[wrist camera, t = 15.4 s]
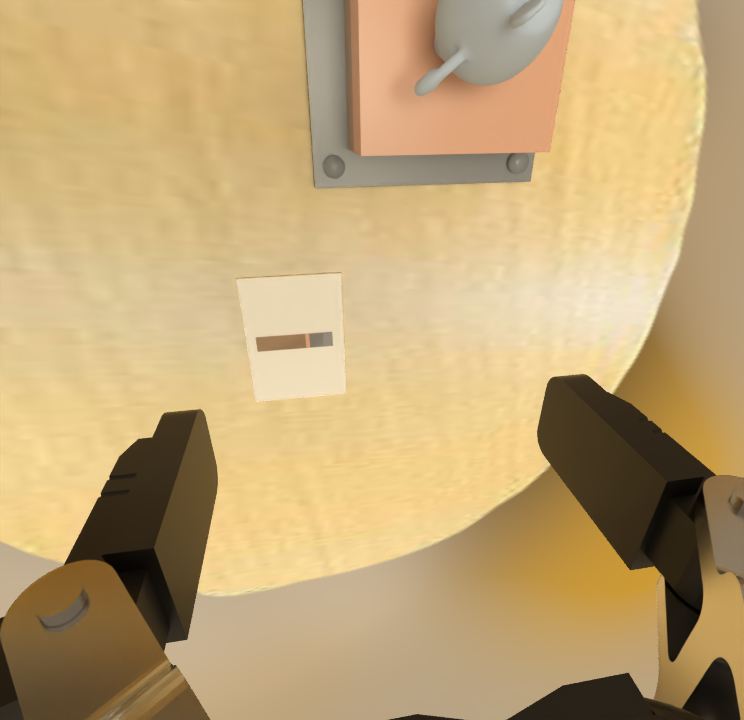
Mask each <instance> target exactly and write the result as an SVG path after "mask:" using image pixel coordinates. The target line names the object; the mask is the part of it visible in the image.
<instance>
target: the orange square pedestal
mask: <svg viewBox="0 0 744 720" xmlns="http://www.w3.org/2000/svg"><path fill="white" fill-rule="evenodd" d="M438 1H439V0H302V2H303V17H304V32H305V48H306V63H307V78H308V93H309V108H310V123H311V138H312V153H313V168H314V184H315V188H332V187H365V186H398V185H431V184H464V183H497V182H530V181H531V174H532V167H533V161H534V154H535V152H550V148H551V142H552V136H553V130H554V124H555V118H556V112H557V106H558V100H559V94H560V88H561V82H562V76H563V70H564V64H565V58H566V52H567V46H568V40H569V34H570V28H571V22H572V16H573V10H574V4H575V0H564V1H563V7H562V11H561V14H560V17H559V20H558V23H557V25H556V28H555V30H554V32H553V34H552V36H551V38H550V39H549V41H548V43H547V44H546V46H545V47H544V48H543V50H542V51H541V52H540V54H539V55H538V56H537V57H536V58H535V60H534V61H533V62H532V63H531V64H530V65H529V66H528V67H526V68H525V69H524V70H523V71H522V72H520V73H519V74H517V75H516V76H514V77H513V78H511V79H509V80H507V81H504V82H502V83H499V84H495V85H487V86H482V85H475V84H471V83H468V82H466V81H464V80H462V79H460V78H459V77H457V76H456V75H455V74H454V73H453V72H451V73H450V74H449V75H448V76H446V77H445V78H444V79H443V80H442V81H441V82H440V84H439V85H438V87H437V88H436V89H434V90H433V91H431V92H430V93H428V94H426V95H424V96H417V95H416V94H415V91H414V88H415V85H416V83H417V82H418V81H419V80H420V79H421V78H422V77H423V76H424V75H425V74H426V73H427V72H428V71H429V70H431V69H438V68H439V67H440V66H442V65H443V64H444V63H445V62H444V60H443V59H441V58H440V57H439V56H438V55H437V53H436V51H435V47H434V39H435V35H436V33H435V18H436V10H437V5H438Z"/></svg>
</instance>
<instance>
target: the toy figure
mask: <svg viewBox="0 0 744 720" xmlns="http://www.w3.org/2000/svg"><path fill="white" fill-rule="evenodd" d="M563 1H564V0H439V1H438V5H437V10H436V18H435V33H436V35H435V39H434V47H435V51H436V53H437V55H438V56H439V57H440V58H441V59H443V60H444V62H445V63H444V64H443V65H442V66H440V67H439V68H438V69H431V70H429V71H428V72H427V73H426V74H425V75H424V76H423V77H422V78H421V79H420V80H419V81H418V82H417V83H416V85H415V88H414V91H415V94H416V95H417V96H424V95H426V94H428V93H430V92H431V91H433V90H434V89H436V88H437V87H438V85H439V84H440V82H441V81H442V80H443V79H444V78H445V77H446V76H448V75H449V74H450V73H451V72H453V73H454V74H455V75H456V76H457V77H459V78H460V79H462V80H464V81H466V82H468V83H471V84H475V85H482V86H487V85H495V84H499V83H502V82H504V81H507V80H509V79H511V78H513V77H514V76H516V75H517V74H519V73H520V72H522V71H523V70H524V69H525V68H526V67H528V66H529V65H530V64H531V63H532V62H533V61H534V60H535V58H536V57H537V56H538V55H539V54H540V52H541V51H542V50H543V48H544V47H545V46H546V44H547V43H548V41H549V39H550V38H551V36H552V34H553V32H554V30H555V28H556V25H557V23H558V20H559V17H560V14H561V11H562V7H563Z"/></svg>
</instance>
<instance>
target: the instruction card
mask: <svg viewBox="0 0 744 720" xmlns="http://www.w3.org/2000/svg"><path fill="white" fill-rule="evenodd" d="M236 282H237V288H238V294H239V300H240V307H241V313H242V319H243V325H244V331H245V338H246V344H247V350H248V356H249V362H250V369H251V375H252V381H253V387H254V393H255V399H256V402H261V401H272V400H283V399H293V398H304V397H315V396H326V395H336V394H346V375H345V352H344V329H343V306H342V282H341V272H340V273H322V274H304V275H286V276H269V277H251V278H236Z"/></svg>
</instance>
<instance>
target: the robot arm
mask: <svg viewBox="0 0 744 720" xmlns="http://www.w3.org/2000/svg"><path fill="white" fill-rule="evenodd" d="M537 437H538V443H539V446H540V449H541V451H542V453H543V455H544V456H545V458H546V459H547V460H548V462H549V463H550V464H551V466H552V467H553V468H554V470H555V471H556V472H557V474H558V475H559V476H560V478H561V479H562V480H563V482H564V483H565V484H566V486H567V487H568V488H569V490H570V491H571V492H572V494H573V495H574V496H575V497H576V499H577V500H578V501H579V502H580V504H581V505H582V507H583V508H584V509H585V511H586V512H587V513H588V515H589V516H590V517H591V519H592V520H593V521H594V523H595V524H596V525H597V527H598V528H599V529H600V531H601V532H602V533H603V535H604V536H605V537H606V539H607V540H608V541H609V543H610V544H611V545H612V547H613V548H614V549H615V550H616V552H617V553H618V555H619V556H620V557H621V559H622V560H623V561H624V563H625V564H626V565H627V567H628V568H629V569H630V570H634V569H641V568H647V567H653V566H655V567H656V568H657V569H658V571H659V572H660V573H661V575H660V577H659V579H658V581H657V586H656V593H657V594H656V595H657V627H658V655H659V657H658V660H659V676H658V683H657V689H656V692H655V696H654V700H652V699H648V698H644V697H643V696H642V694H641V693H640V691H639V689H638V688H637V686H636V684H635V683H634V681H633V679H632V678H631V676H630V674H629V673H625V674H620V675H614V676H609V677H605V678H599V679H594V680H590V681H584V682H579V683H574V684H569V685H563V686H561V687H560V688H558V689H556V690H555V691H553V692H552V693H550V694H548V695H547V696H545V697H543V698H542V699H540V700H539V701H537V702H535V703H534V704H532V705H530V706H529V707H527V708H525V709H524V710H522V711H520V712H519V713H517V714H516V715H514V716H512V717H511V718H509V719H507V720H744V478H742V477H737V476H731V475H718V476H717V475H715V474H714V473H713V472H712V471H711V470H709V469H708V468H707V467H706V466H705V465H703V464H702V463H701V462H700V461H699V460H697V459H696V458H695V457H694V456H692V455H691V454H690V453H689V452H688V451H686V450H685V449H684V448H683V447H682V446H681V445H679V444H678V443H677V442H676V441H675V440H674V439H672V438H671V437H670V436H669V435H668V434H666V433H662V430H661V429H660V428H659V427H658V426H657V425H656V424H654V423H653V422H652V421H648V418H647V417H646V416H645V415H644V414H642V413H641V412H640V411H639V410H638V409H636V408H635V407H634V406H633V405H632V404H630V403H628V402H626V401H624V400H622V399H620V398H618V397H617V396H615V395H613V394H611V393H609V392H606V391H605V390H604V389H603V388H602V387H601V386H599V385H598V384H597V383H596V382H595V381H594V380H592V379H591V378H590V377H589V376H587V375H585V374H579V375H569V376H558V377H553V378H551V379H550V380H549V382H548V384H547V387H546V392H545V397H544V401H543V406H542V411H541V415H540V420H539V425H538V430H537ZM109 477H110V479H109V480H107V482H106V484H105V486H104V488H103V490H102V492H101V497H98V499H97V501H96V503H95V505H94V507H93V509H92V511H91V513H90V515H89V517H88V519H87V521H86V523H85V525H84V527H83V529H82V531H81V533H80V535H79V537H78V538H77V540H76V542H75V544H74V546H73V548H72V550H71V552H70V554H69V556H68V558H67V560H66V562H65V564H64V566H61V567H59V568H57V569H55V570H53V571H51V572H49V573H47V574H46V575H44V576H42V577H41V578H39V579H38V580H37V581H35V582H34V583H33V584H31V585H30V586H29V587H28V588H27V589H26V590H25V591H23V592H22V593H21V595H20V596H19V597H18V598H17V599H16V600H15V601H14V603H13V604H12V605H11V607H10V608H9V610H8V612H7V613H6V615H5V616H4V617H2V618H0V720H210V718H209V717H208V715H207V713H206V712H205V710H204V709H203V707H202V705H201V704H200V702H199V700H198V699H197V697H196V695H195V694H194V692H193V690H192V689H191V687H190V685H189V684H188V682H187V681H186V679H185V677H184V676H183V674H182V673H181V672H180V670H179V669H178V668H177V666H176V665H174V666H173V665H172V664H171V663H170V661H169V660H168V658H167V656H166V655H165V653H164V650H165V645H166V643H169V642H176V641H182V640H187V638H188V634H189V628H190V624H191V618H192V613H193V608H194V604H195V599H196V594H197V589H198V584H199V579H200V574H201V569H202V564H203V559H204V554H205V549H206V544H207V539H208V534H209V529H210V524H211V519H212V514H213V509H214V504H215V499H216V494H217V485H218V475H217V465H216V460H215V456H214V452H213V447H212V443H211V439H210V435H209V430H208V426H207V422H206V418H205V414H204V412H203V411H202V410H201V409H198V410H188V411H177V412H167V413H164V414H163V415H162V417H161V419H160V421H159V424H158V426H157V428H156V431H155V433H154V435H153V437H152V438H143V439H138V440H137V441H136V442H135V443H134V444H132V445H131V446H130V447H129V448H128V449H127V450H126V451H125V452H124V453H123V454H122V455H121V456H119V458H118V460H117V462H116V464H115V466H114V468H113V470H112V472H111V474H110V476H109ZM390 720H462V719H454V718H445V717H437V716H427V715H419V714H416V715H411V716H406V717H400V718H395V719H390Z"/></svg>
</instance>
